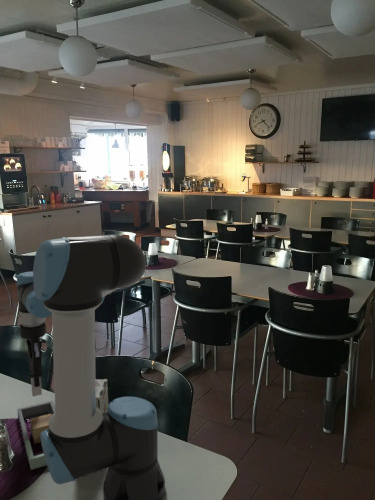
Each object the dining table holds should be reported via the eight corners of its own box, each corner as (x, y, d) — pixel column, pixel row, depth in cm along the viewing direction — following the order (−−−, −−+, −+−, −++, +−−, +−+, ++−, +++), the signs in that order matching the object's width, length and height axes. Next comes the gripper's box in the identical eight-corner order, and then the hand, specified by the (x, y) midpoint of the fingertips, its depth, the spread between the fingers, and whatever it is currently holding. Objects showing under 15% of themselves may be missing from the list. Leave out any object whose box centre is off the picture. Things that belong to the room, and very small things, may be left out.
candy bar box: (93, 427, 132) (91, 378, 129) (109, 428, 131) (108, 378, 129) (84, 450, 120) (82, 397, 118) (101, 451, 120) (100, 397, 118)
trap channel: (72, 457, 118) (72, 447, 117) (30, 469, 113) (30, 459, 112) (53, 408, 142) (52, 400, 142) (18, 417, 137) (17, 408, 136)
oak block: (55, 439, 126) (54, 423, 125) (34, 444, 123) (33, 429, 122) (51, 428, 131) (51, 413, 130) (31, 433, 129) (30, 418, 128)
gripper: (16, 318, 133) (21, 387, 137) (22, 332, 121) (27, 407, 126) (41, 314, 136) (45, 382, 140) (49, 327, 125) (53, 401, 129)
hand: (36, 394), depth 133 cm, fingers closed
